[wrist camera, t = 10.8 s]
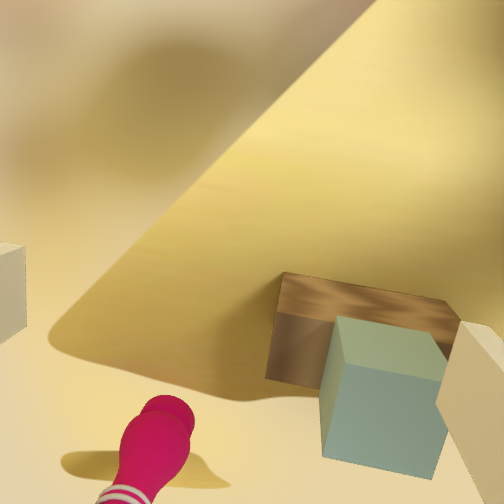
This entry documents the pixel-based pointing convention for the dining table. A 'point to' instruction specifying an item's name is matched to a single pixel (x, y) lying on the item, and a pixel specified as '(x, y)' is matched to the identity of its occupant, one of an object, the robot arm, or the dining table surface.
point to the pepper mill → (151, 451)
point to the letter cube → (382, 398)
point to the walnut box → (347, 305)
